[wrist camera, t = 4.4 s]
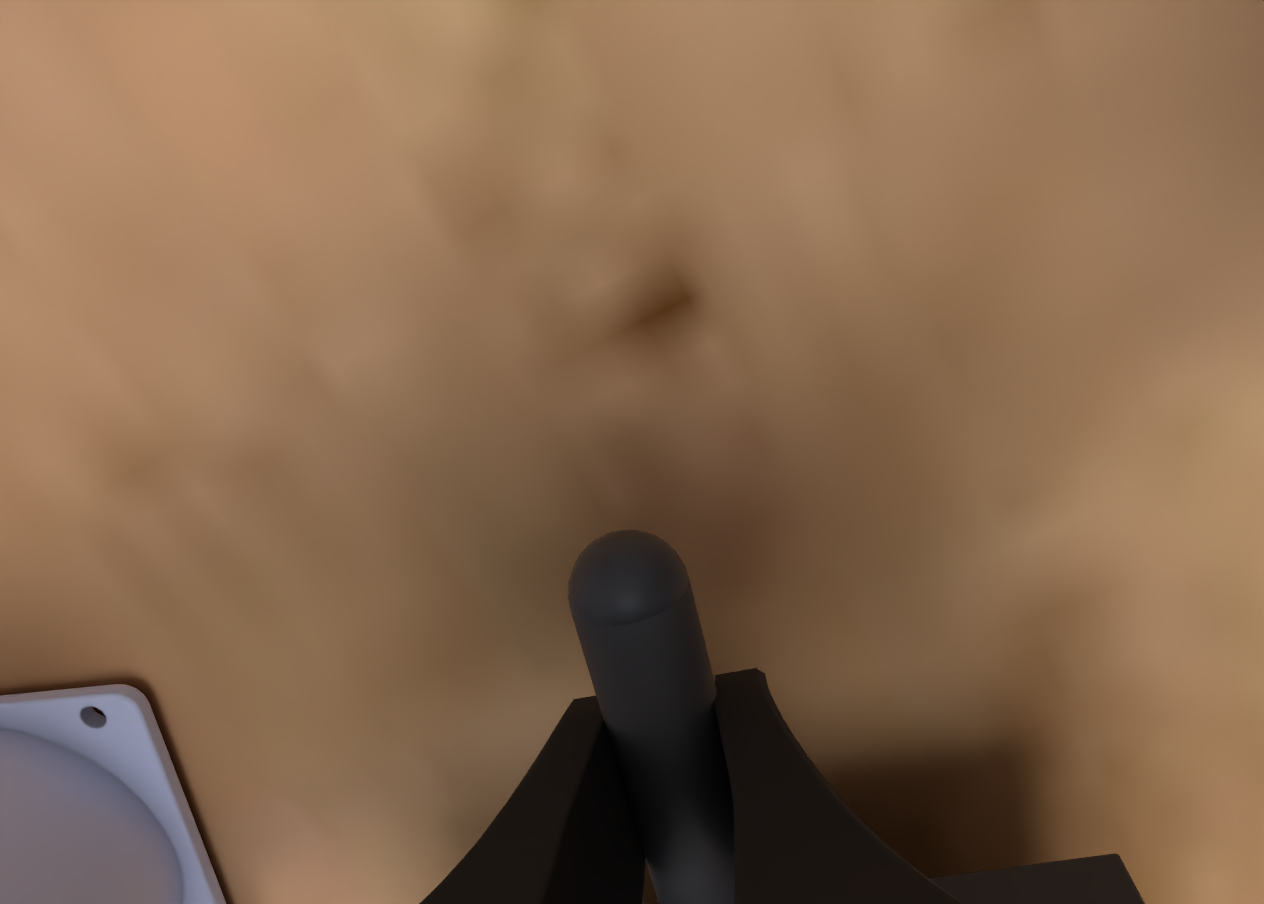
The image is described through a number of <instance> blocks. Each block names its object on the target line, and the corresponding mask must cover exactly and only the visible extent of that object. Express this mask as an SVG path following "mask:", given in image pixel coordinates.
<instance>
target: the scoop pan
mask: <svg viewBox="0 0 1264 904" xmlns="http://www.w3.org/2000/svg"><path fill="white" fill-rule="evenodd" d="M568 599H569V605H570V610H571V613H572V616H573V620H574V623H575V626H576V630H577V633H578V636H579V640H580V643H581V646H582V650H583V653H584V656H585V660H586V663H587V666H588V670H589V673H590V676H591V680H592V683H593V686H594V690H595V693H596V696H597V700H598V703H599V706H600V710H601V713H602V716H603V719H604V722H605V725H606V729H607V732H608V735H609V739H610V742H611V745H612V749H613V752H614V755H615V759H616V762H617V765H618V769H619V772H620V775H621V779H622V782H623V785H624V789H625V792H626V795H627V799H628V802H629V805H630V809H631V812H632V815H633V819H634V822H635V825H636V829H637V832H638V835H639V839H640V842H641V845H642V849H643V852H644V855H645V859H646V863H647V866H648V869H649V873H650V876H651V879H652V883H653V886H654V889H655V893H656V896H657V899H658V903H659V904H734V896H735V844H734V807H733V798H732V790H731V783H730V779H729V774H728V769H727V764H726V759H725V754H724V749H723V744H722V739H721V734H720V729H719V724H718V719H717V714H716V709H715V704H714V700H715V698H716V694H717V690H716V686H715V682H714V678H713V674H712V670H711V666H710V661H709V657H708V653H707V649H706V645H705V641H704V637H703V633H702V629H701V625H700V620H699V616H698V612H697V608H696V604H695V600H694V596H693V592H692V588H691V584H690V580H689V576H688V573H687V570H686V567H685V565H684V563H683V562H682V560H681V558H680V557H679V555H678V554H677V552H676V551H675V550H674V549H673V548H672V547H671V546H670V545H669V544H668V543H666V542H665V541H664V540H662V539H660V538H659V537H657V536H655V535H653V534H650V533H647V532H643V531H639V530H621V531H615V532H611V533H608V534H606V535H604V536H602V537H600V538H598V539H596V540H595V541H593V542H592V543H591V544H590V545H589V546H587V548H586V549H585V550H584V551H583V552H582V553H581V554H580V556H579V557H578V559H577V561H576V562H575V564H574V566H573V569H572V571H571V575H570V578H569V588H568ZM928 879H930V880H931V881H932V882H934V883H935V884H936V885H938V886H939V887H941V888H942V889H944V890H945V891H946V892H948V893H949V894H951V895H952V896H953V897H955V898H956V899H958V900H959V901H960V902H962V903H964V904H1145V903H1144V901H1143V899H1142V897H1141V895H1140V893H1139V892H1138V890H1137V888H1136V886H1135V884H1134V882H1133V880H1132V878H1131V877H1130V875H1129V873H1128V871H1127V869H1126V867H1125V865H1124V863H1123V862H1122V860H1121V858H1120V856H1119V855H1118V854H1108V855H1100V856H1093V857H1085V858H1078V859H1070V860H1062V861H1055V862H1047V863H1040V864H1032V865H1025V866H1017V867H1010V868H1002V869H995V870H987V871H980V872H972V873H965V874H957V875H950V876H942V877H934V878H928Z"/></svg>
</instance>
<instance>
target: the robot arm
mask: <svg viewBox="0 0 1264 904" xmlns="http://www.w3.org/2000/svg"><path fill="white" fill-rule="evenodd" d="M715 686H716V690H717V694H716V698H715V700H714V704H715V709H716V714H717V719H718V724H719V729H720V734H721V739H722V744H723V749H724V754H725V759H726V764H727V769H728V774H729V779H730V783H731V790H732V798H733V807H734V844H735V896H734V904H964V903H962V902H960V901H959V900H958V899H956V898H955V897H953V896H952V895H951V894H949V893H948V892H946V891H945V890H944V889H942V888H941V887H939V886H938V885H936V884H935V883H934V882H932V881H931V880H930V879H928V878H927V877H926V876H925V875H923V874H922V873H921V872H920V871H919V870H917V869H916V868H915V867H914V866H912V865H911V864H910V863H909V862H908V861H906V860H905V859H904V858H903V857H901V856H900V855H899V854H898V853H897V852H895V851H894V850H893V849H892V848H890V847H889V846H888V845H887V844H886V843H885V842H884V841H883V840H882V839H881V838H880V837H879V836H878V835H877V834H875V833H874V832H873V831H872V830H871V829H870V828H869V827H868V826H867V825H866V824H865V823H864V822H863V821H862V820H861V819H860V818H859V817H858V816H857V815H856V814H855V813H854V812H853V810H852V809H851V808H850V807H849V806H848V805H847V804H846V803H845V802H844V801H843V800H842V798H841V797H840V796H839V795H838V794H837V793H836V792H835V790H834V789H833V788H832V787H831V786H830V784H829V783H828V782H827V781H826V779H825V778H824V777H823V776H822V774H821V773H820V772H819V771H818V769H817V768H816V767H815V765H814V764H813V763H812V761H811V760H810V759H809V757H808V756H807V755H806V753H805V752H804V750H803V749H802V747H801V746H800V744H799V743H798V741H797V740H796V738H795V737H794V735H793V734H792V732H791V731H790V729H789V727H788V726H787V724H786V722H785V721H784V719H783V717H782V715H781V714H780V712H779V710H778V708H777V706H776V704H775V702H774V700H773V698H772V696H771V693H770V691H769V688H768V685H767V681H766V677H765V673H763V672H761V671H760V670H758V669H757V668H754V669H748V670H742V671H736V672H730V673H725V674H719V675H715ZM92 707H96V708H98V709H99V710H101V711H102V712H103V713H104V715H105V716H103V715H100V714H99V713H97V712H95V710H94V709H93V708H92ZM644 873H645V855H644V852H643V849H642V845H641V842H640V839H639V835H638V832H637V829H636V825H635V822H634V819H633V815H632V812H631V809H630V805H629V802H628V799H627V795H626V792H625V789H624V785H623V782H622V779H621V775H620V772H619V769H618V765H617V762H616V759H615V755H614V752H613V749H612V745H611V742H610V739H609V735H608V732H607V729H606V725H605V722H604V719H603V716H602V713H601V710H600V706H599V703H598V700H597V696H591V697H585V698H579V699H574V700H573V701H572V702H571V704H570V705H569V707H568V708H567V710H566V711H565V713H564V714H563V716H562V718H561V719H560V721H559V723H558V724H557V726H556V728H555V729H554V731H553V732H552V734H551V736H550V737H549V739H548V741H547V742H546V744H545V745H544V747H543V749H542V750H541V752H540V753H539V755H538V757H537V758H536V760H535V761H534V763H533V764H532V766H531V767H530V769H529V770H528V772H527V773H526V775H525V776H524V778H523V779H522V781H521V782H520V784H519V785H518V787H517V788H516V790H515V791H514V793H513V794H512V796H511V797H510V799H509V800H508V802H507V803H506V804H505V806H504V807H503V808H502V810H501V811H500V812H499V814H498V815H497V816H496V818H495V819H494V820H493V822H492V823H491V824H490V826H489V827H488V828H487V830H486V831H485V832H484V834H483V835H482V836H481V838H480V839H479V840H478V841H477V843H476V844H475V845H474V846H473V847H472V849H471V850H470V851H469V852H468V853H467V854H466V856H465V857H464V858H463V859H462V860H461V861H460V862H459V863H458V865H457V866H456V867H455V868H454V869H453V870H452V871H451V872H450V873H449V874H448V876H447V877H446V878H445V879H444V880H443V881H442V882H441V883H440V884H439V885H438V886H437V887H436V888H435V889H434V890H433V891H432V892H431V893H430V894H429V895H428V896H427V897H426V898H425V899H424V900H423V901H422V902H421V903H420V904H642V896H643V885H644ZM0 904H226V901H225V899H224V896H223V893H222V891H221V888H220V886H219V883H218V880H217V878H216V875H215V873H214V870H213V867H212V865H211V862H210V860H209V857H208V854H207V852H206V849H205V847H204V844H203V841H202V839H201V836H200V834H199V831H198V828H197V826H196V823H195V821H194V818H193V815H192V813H191V810H190V808H189V805H188V802H187V800H186V797H185V795H184V792H183V789H182V787H181V784H180V782H179V779H178V776H177V774H176V771H175V769H174V766H173V763H172V761H171V758H170V755H169V753H168V750H167V748H166V745H165V742H164V740H163V737H162V735H161V732H160V729H159V727H158V724H157V722H156V719H155V716H154V714H153V711H152V709H151V706H150V703H149V701H148V700H147V698H146V697H145V695H144V694H143V693H142V692H140V691H139V690H138V689H137V688H134V687H132V686H129V685H125V684H112V685H102V686H92V687H82V688H72V689H62V690H51V691H41V692H31V693H21V694H11V695H1V696H0Z"/></svg>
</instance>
